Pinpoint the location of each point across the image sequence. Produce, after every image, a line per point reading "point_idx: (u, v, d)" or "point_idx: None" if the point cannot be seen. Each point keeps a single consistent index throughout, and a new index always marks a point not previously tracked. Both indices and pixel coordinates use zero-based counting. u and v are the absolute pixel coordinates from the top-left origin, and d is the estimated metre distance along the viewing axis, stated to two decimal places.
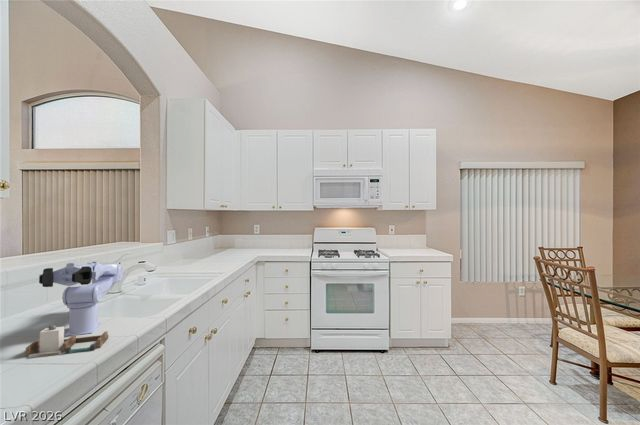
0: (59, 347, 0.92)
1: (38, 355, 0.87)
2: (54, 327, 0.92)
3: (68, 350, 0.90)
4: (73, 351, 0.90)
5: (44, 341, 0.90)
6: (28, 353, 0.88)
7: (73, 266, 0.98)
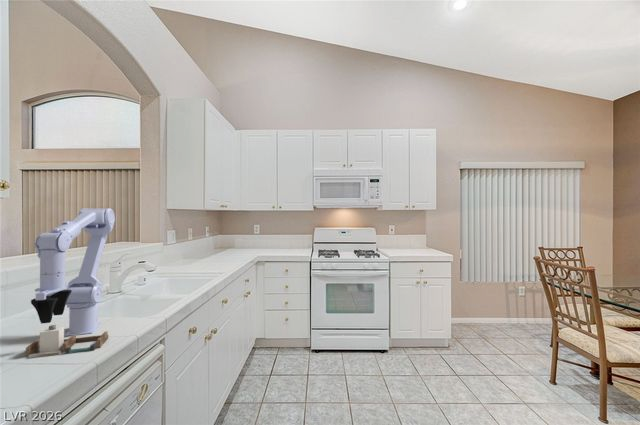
0: (59, 347, 0.92)
1: (38, 355, 0.87)
2: (54, 327, 0.92)
3: (68, 350, 0.90)
4: (73, 351, 0.90)
5: (44, 341, 0.90)
6: (28, 353, 0.88)
7: None
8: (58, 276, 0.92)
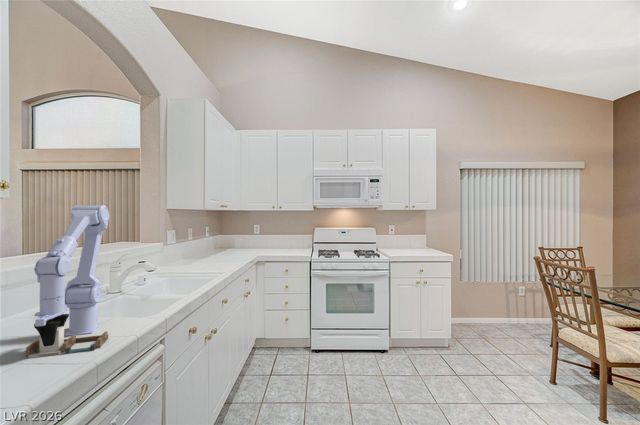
0: (59, 347, 0.92)
1: (38, 355, 0.87)
2: None
3: (68, 350, 0.90)
4: (73, 351, 0.90)
5: None
6: (28, 353, 0.88)
7: None
8: (58, 300, 0.92)
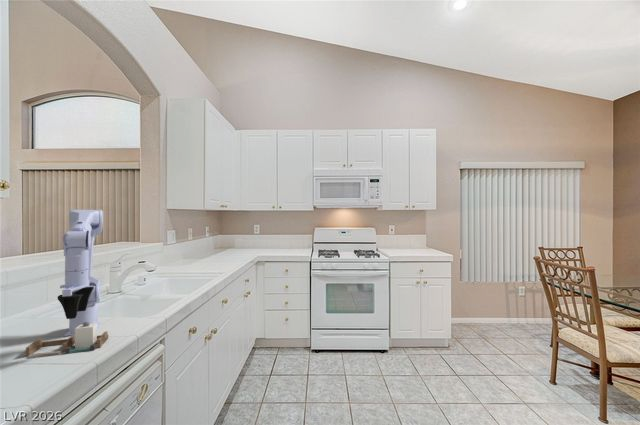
0: (93, 343, 0.95)
1: (38, 355, 0.87)
2: (88, 324, 0.95)
3: (68, 350, 0.90)
4: (73, 351, 0.90)
5: (79, 337, 0.93)
6: (28, 353, 0.88)
7: None
8: (82, 273, 0.95)
